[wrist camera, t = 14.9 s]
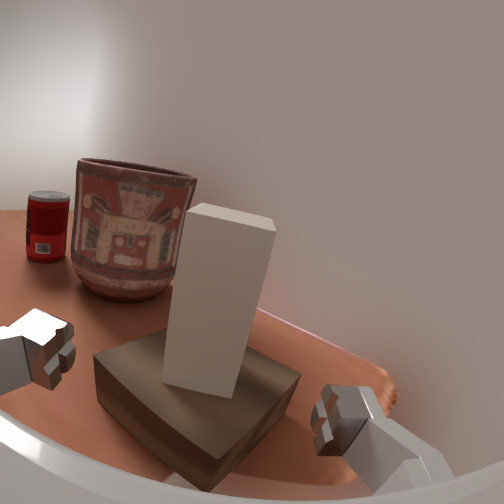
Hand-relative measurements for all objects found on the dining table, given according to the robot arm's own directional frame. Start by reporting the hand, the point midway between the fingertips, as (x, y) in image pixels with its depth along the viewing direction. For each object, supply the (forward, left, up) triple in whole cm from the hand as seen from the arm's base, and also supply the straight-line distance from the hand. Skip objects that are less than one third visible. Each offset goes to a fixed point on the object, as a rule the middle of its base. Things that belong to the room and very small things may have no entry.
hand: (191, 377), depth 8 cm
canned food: (+13, +46, -14) cm, 50 cm away
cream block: (+10, +6, -9) cm, 14 cm away
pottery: (+20, +30, -14) cm, 38 cm away
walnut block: (+10, +6, -14) cm, 18 cm away
